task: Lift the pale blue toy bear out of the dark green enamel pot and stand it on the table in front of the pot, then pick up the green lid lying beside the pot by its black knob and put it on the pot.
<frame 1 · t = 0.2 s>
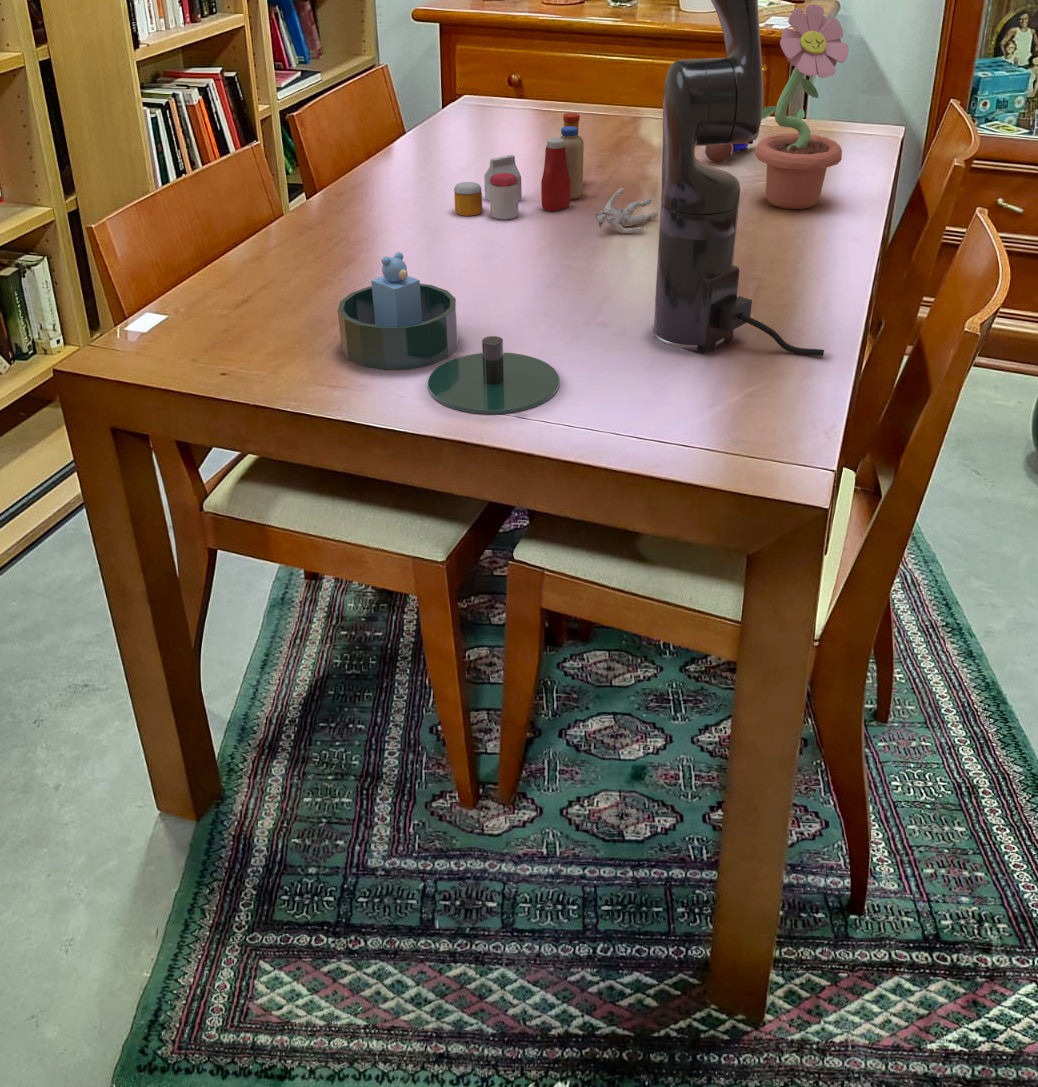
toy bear: (400, 345, 142), resting on pot
figurine character: (728, 156, 212), on the table
lid: (493, 383, 132), point 1 cm above the table
pot: (400, 349, 142), on the table
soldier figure: (626, 228, 180), on the table
decorative flower: (789, 204, 188), on the table
toy food: (530, 203, 191), on the table
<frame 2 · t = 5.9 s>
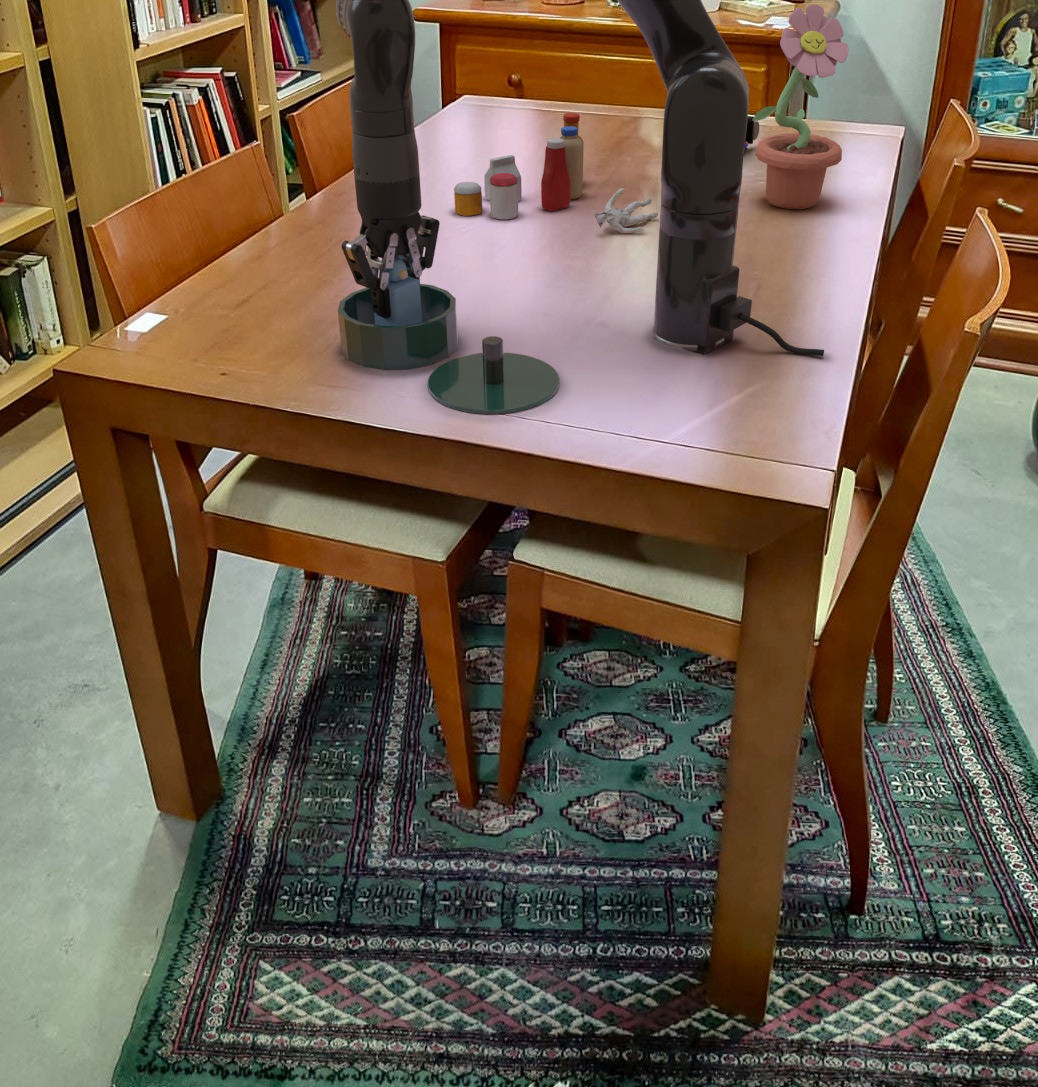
hand: (397, 309, 139), 5 cm above the table, tool pointing down, fingers closed on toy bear, 4 cm apart
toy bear: (400, 345, 142), point 1 cm above the table, touching gripper, pot
everything else where it was.
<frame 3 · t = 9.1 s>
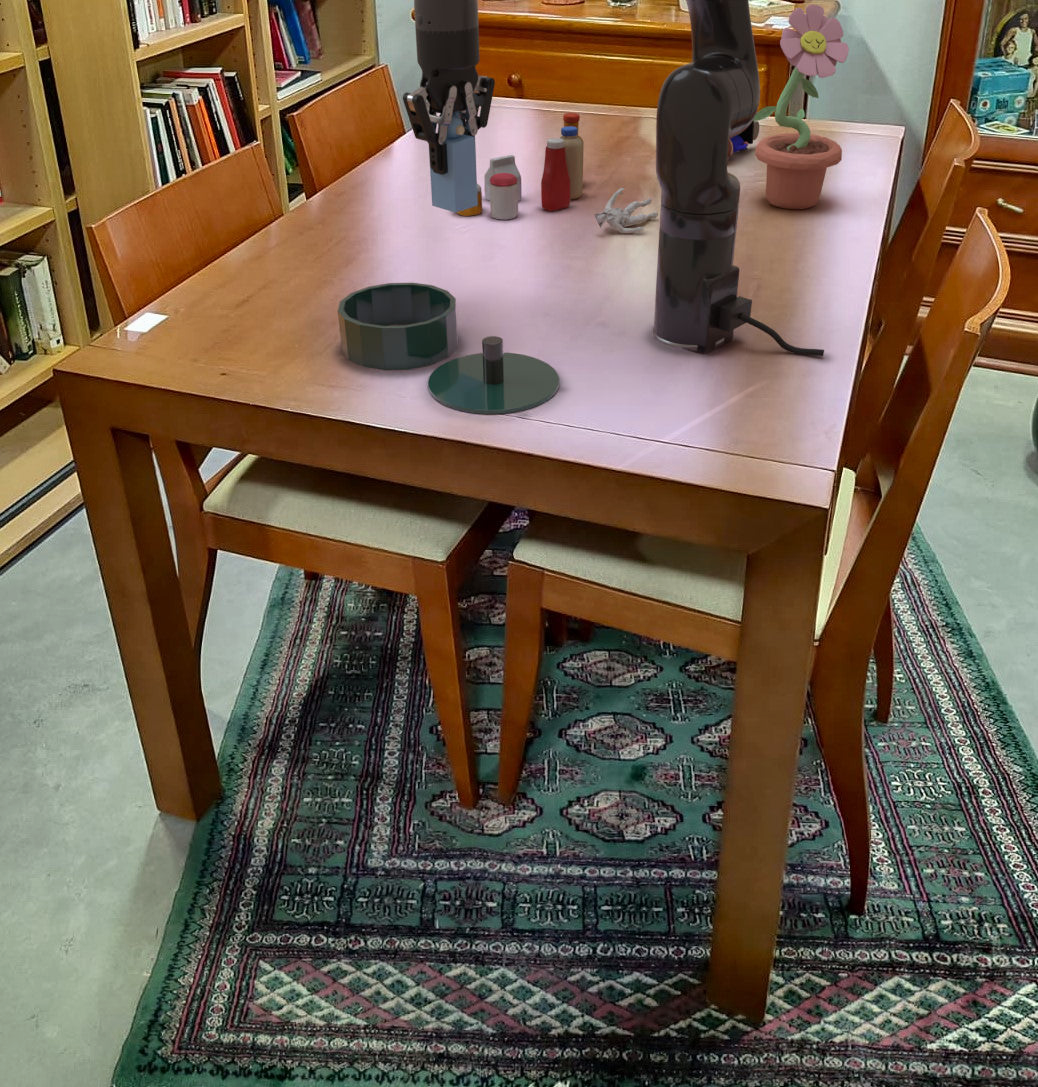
hand: (453, 168, 143), 18 cm above the table, tool pointing down, fingers closed on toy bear, 4 cm apart
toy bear: (454, 205, 146), point 14 cm above the table, touching gripper
everything else where it was.
when the fingers open (5 cm above the table, at t = 12.6 s): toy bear stays where it is, on the table.
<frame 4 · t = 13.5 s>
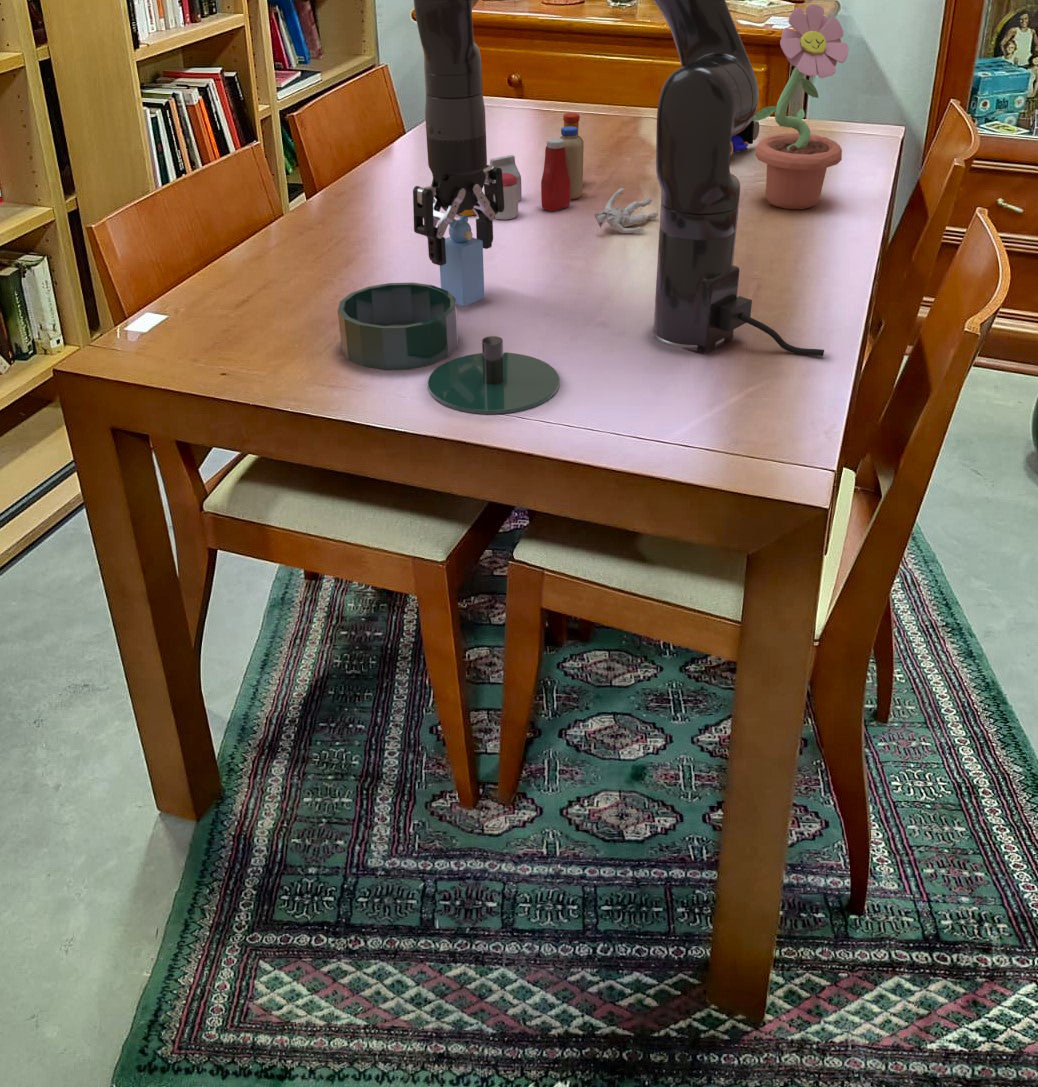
hand: (462, 255, 151), 7 cm above the table, tool pointing down, fingers open, 8 cm apart
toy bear: (463, 301, 155), on the table
everything else where it was.
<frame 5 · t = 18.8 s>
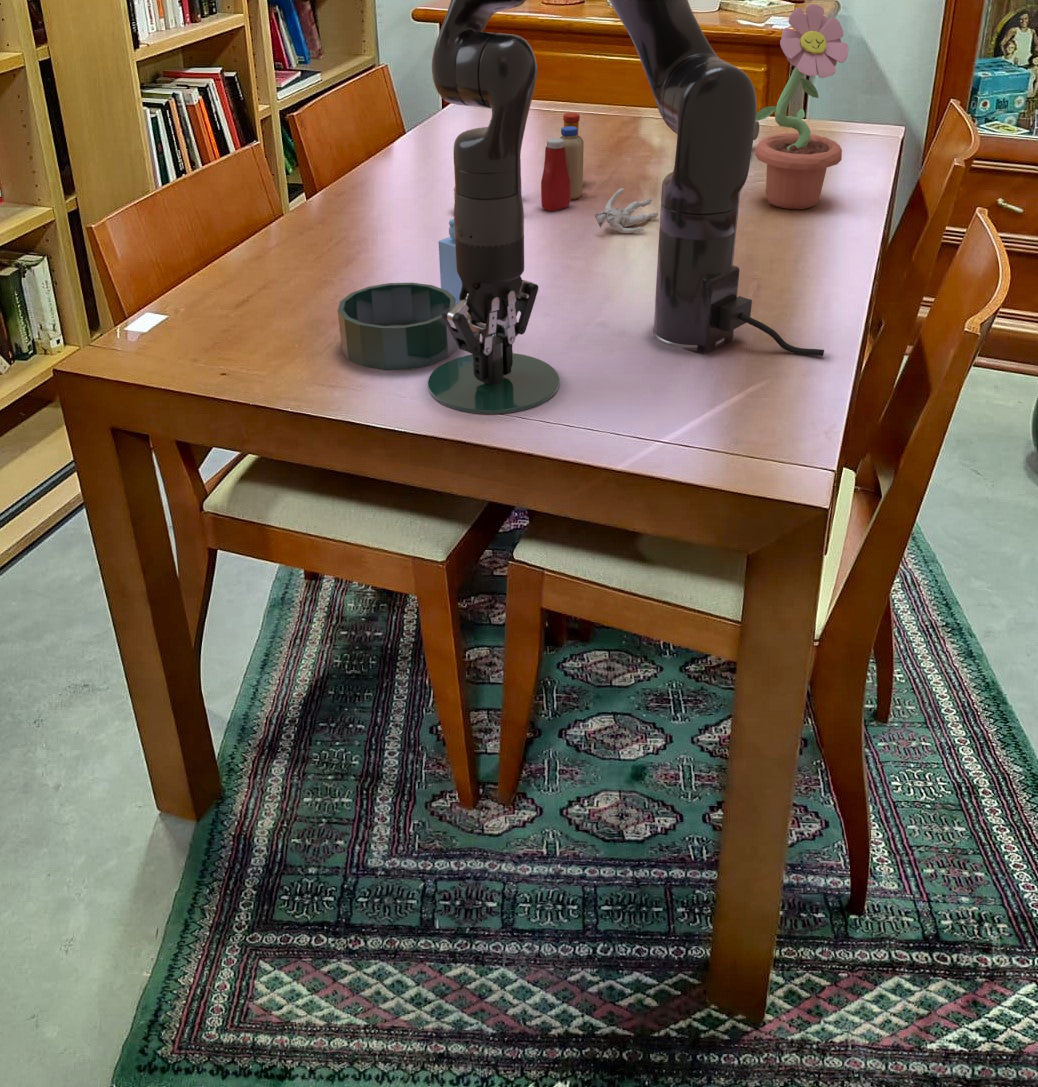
hand: (493, 375, 132), 2 cm above the table, tool pointing down, fingers closed on lid, 2 cm apart
lid: (493, 383, 132), point 1 cm above the table, touching gripper
everything else where it was.
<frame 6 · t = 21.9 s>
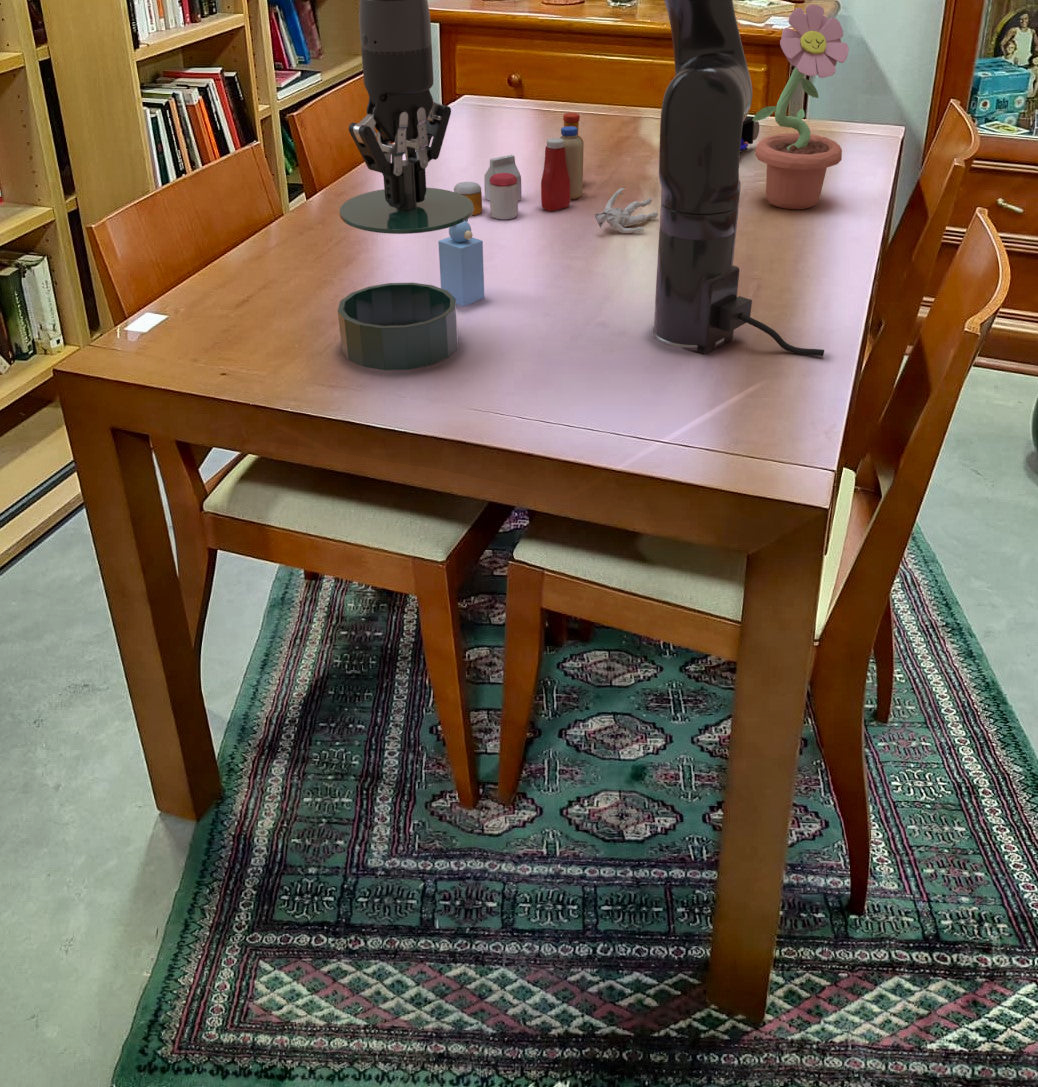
hand: (406, 202, 129), 19 cm above the table, tool pointing down, fingers closed on lid, 2 cm apart
lid: (406, 211, 130), point 18 cm above the table, touching gripper
everything else where it was.
when the fingers open (7 cm above the table, at t = 25.2 s): lid stays where it is, resting on pot.
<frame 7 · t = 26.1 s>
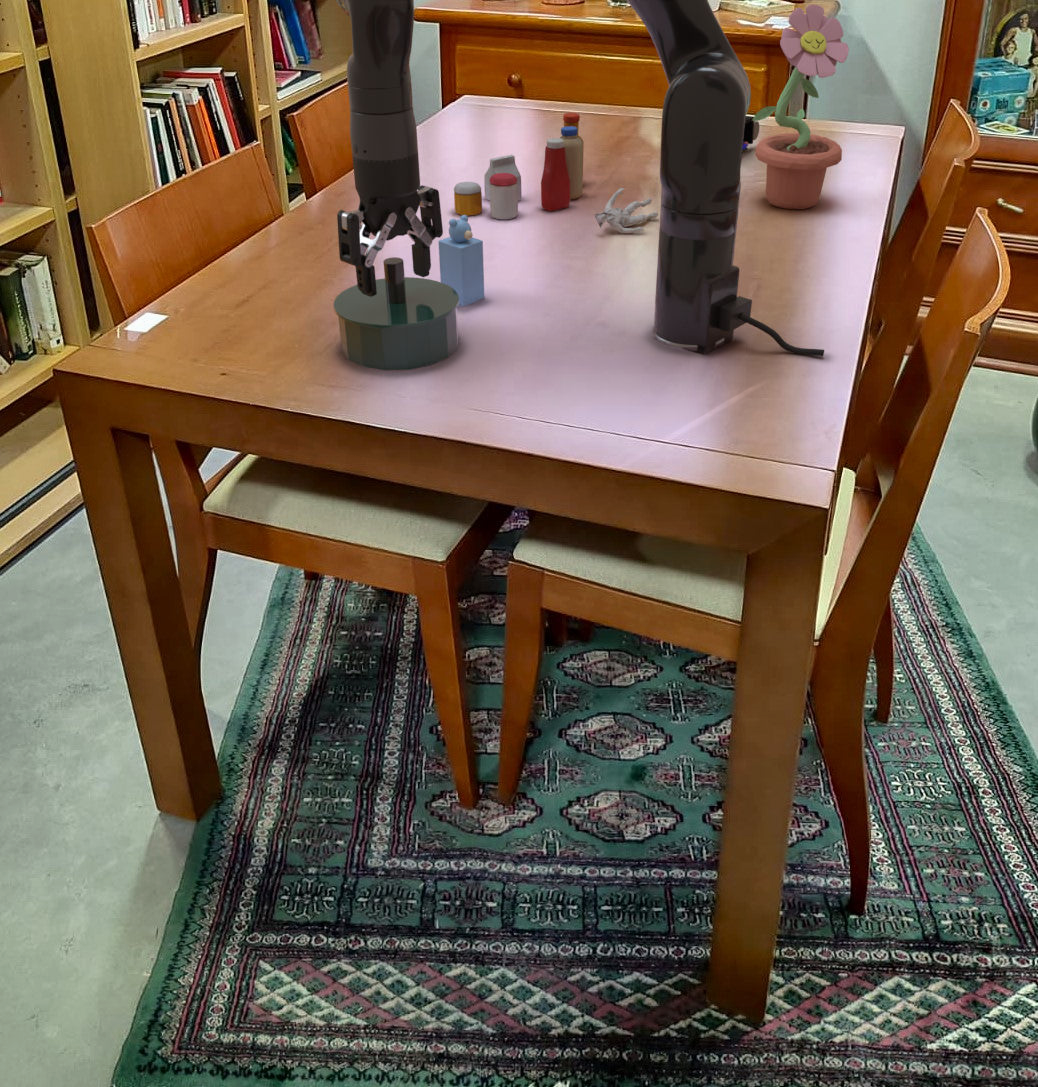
hand: (395, 284, 137), 9 cm above the table, tool pointing down, fingers open, 8 cm apart
lid: (396, 303, 139), point 6 cm above the table, touching pot
everything else where it was.
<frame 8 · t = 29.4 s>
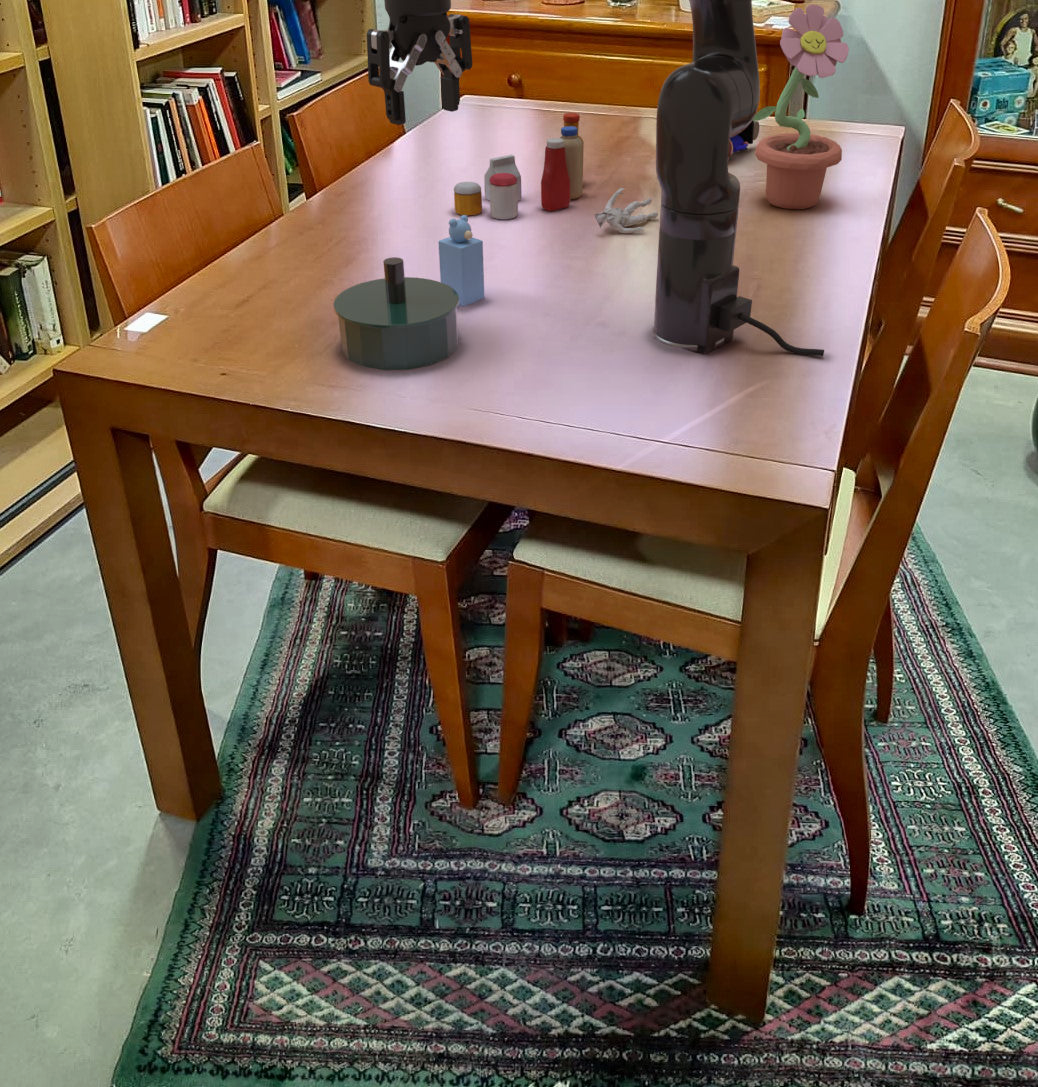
hand: (424, 116, 135), 26 cm above the table, tool pointing down, fingers open, 8 cm apart
nothing on the table moved.
at the end: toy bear inside the target area (0.2 cm from its centre), on the table; lid 0.1 cm off-centre on the pot, point 6.0 cm above the pot's base; lid tilted 0° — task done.
